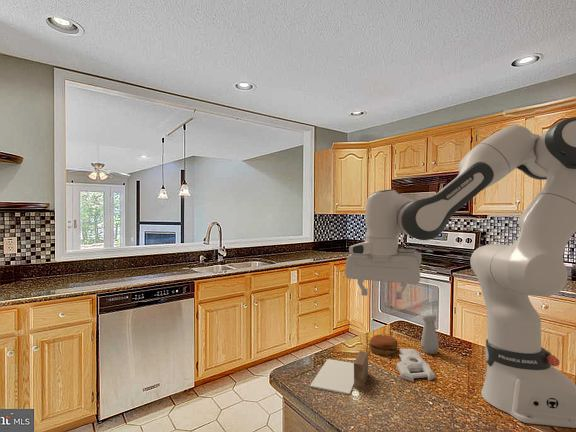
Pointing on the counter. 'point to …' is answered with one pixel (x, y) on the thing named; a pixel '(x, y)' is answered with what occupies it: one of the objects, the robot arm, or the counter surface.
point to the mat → (335, 377)
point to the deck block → (360, 369)
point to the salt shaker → (429, 334)
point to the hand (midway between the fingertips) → (381, 296)
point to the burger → (383, 344)
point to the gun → (413, 365)
